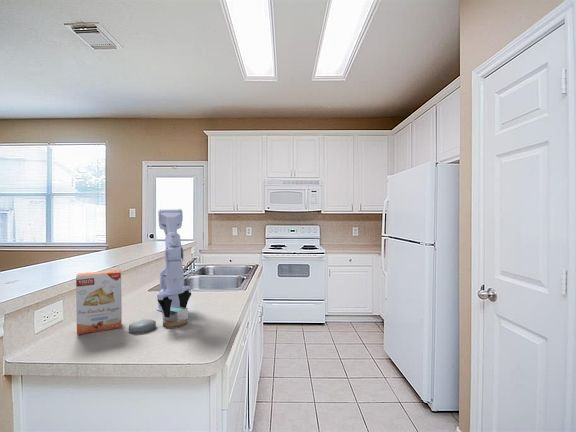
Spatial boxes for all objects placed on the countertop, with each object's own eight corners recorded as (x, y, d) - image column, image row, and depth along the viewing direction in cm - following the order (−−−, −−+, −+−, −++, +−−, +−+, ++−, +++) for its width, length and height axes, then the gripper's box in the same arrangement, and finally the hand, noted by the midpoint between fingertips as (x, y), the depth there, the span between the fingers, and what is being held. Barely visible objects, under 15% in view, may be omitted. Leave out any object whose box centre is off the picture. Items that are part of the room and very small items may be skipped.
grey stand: (123, 330, 113) (123, 325, 113) (145, 322, 121) (144, 318, 121) (139, 335, 109) (139, 329, 108) (161, 326, 116) (161, 321, 116)
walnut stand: (157, 325, 117) (157, 321, 117) (176, 318, 125) (176, 313, 125) (174, 329, 113) (174, 324, 113) (192, 321, 121) (192, 317, 121)
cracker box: (76, 335, 109) (75, 275, 109) (78, 330, 114) (77, 272, 114) (121, 328, 116) (120, 271, 115) (122, 323, 121) (120, 269, 121)
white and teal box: (162, 319, 119) (162, 309, 119) (173, 315, 123) (172, 305, 123) (177, 322, 115) (177, 311, 115) (187, 318, 120) (187, 308, 120)
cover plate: (165, 311, 119) (165, 309, 119) (172, 308, 122) (172, 306, 122) (177, 313, 116) (177, 311, 116) (184, 311, 119) (184, 309, 119)
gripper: (166, 283, 111) (167, 321, 111) (196, 275, 124) (196, 310, 124) (152, 281, 114) (153, 318, 114) (183, 274, 127) (183, 307, 127)
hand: (175, 314), depth 119 cm, fingers open, 7 cm apart
